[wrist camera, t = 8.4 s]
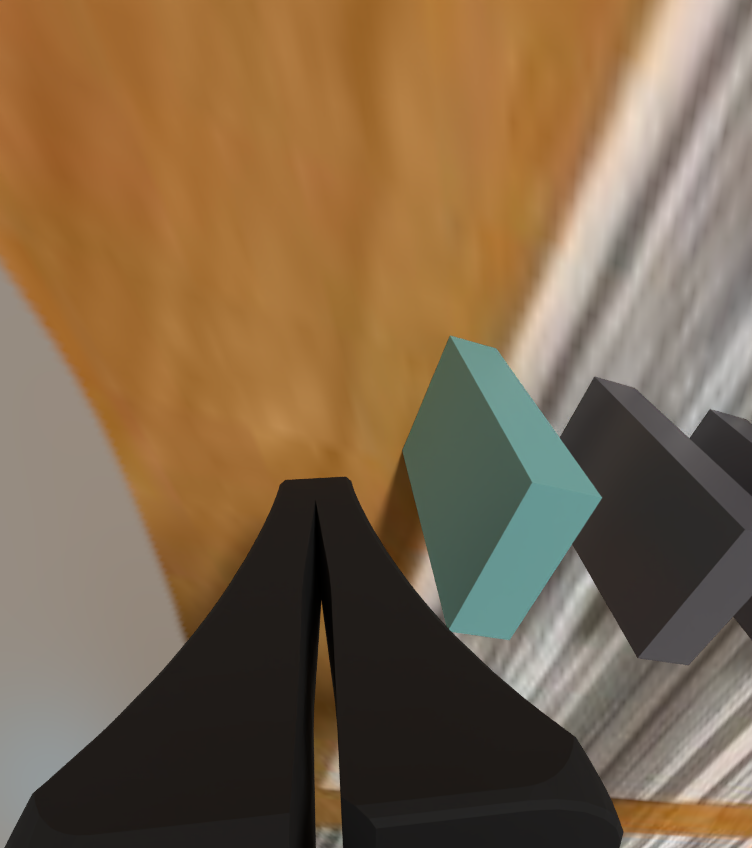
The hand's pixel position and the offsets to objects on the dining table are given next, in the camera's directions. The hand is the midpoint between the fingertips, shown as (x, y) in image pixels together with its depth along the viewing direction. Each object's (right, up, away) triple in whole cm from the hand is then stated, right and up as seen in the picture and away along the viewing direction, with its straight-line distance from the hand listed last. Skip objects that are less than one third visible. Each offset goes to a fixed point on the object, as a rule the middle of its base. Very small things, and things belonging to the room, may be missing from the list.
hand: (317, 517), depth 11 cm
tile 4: (+8, +1, +8) cm, 12 cm away
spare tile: (+4, +3, +7) cm, 8 cm away
